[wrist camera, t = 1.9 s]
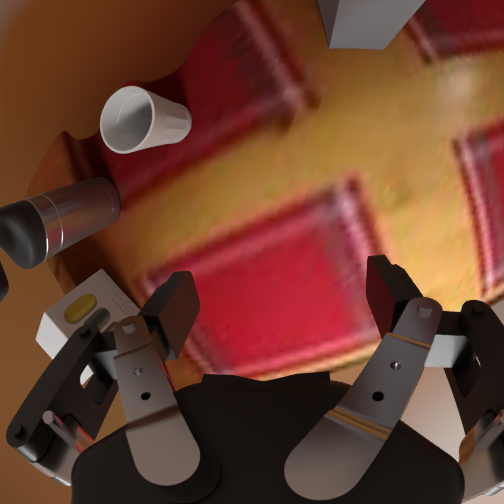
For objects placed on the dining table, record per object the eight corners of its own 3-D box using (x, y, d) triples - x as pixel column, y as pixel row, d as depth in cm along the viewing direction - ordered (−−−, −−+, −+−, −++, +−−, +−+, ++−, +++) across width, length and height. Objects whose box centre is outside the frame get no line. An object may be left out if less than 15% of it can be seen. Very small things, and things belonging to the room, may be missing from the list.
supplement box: (146, 314, 51) (98, 371, 35) (121, 339, 56) (79, 388, 40) (102, 266, 49) (43, 310, 33) (82, 298, 54) (34, 339, 38)
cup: (157, 94, 35) (109, 84, 24) (203, 103, 34) (163, 89, 24) (144, 142, 38) (94, 146, 27) (188, 154, 38) (144, 160, 27)
